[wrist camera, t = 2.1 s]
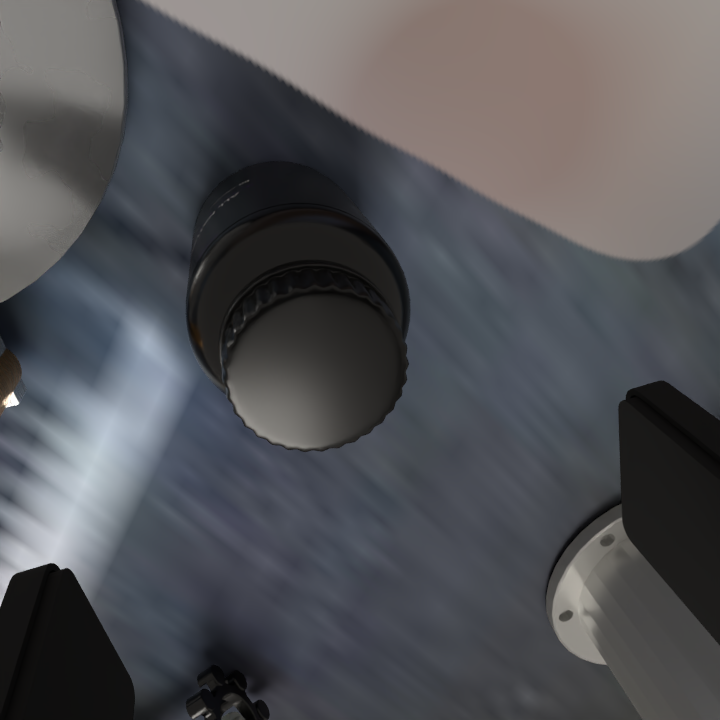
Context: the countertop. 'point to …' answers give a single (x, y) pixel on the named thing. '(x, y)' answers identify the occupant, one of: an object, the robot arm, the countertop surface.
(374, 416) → the supplement bottle
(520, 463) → the countertop surface
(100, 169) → the turntable
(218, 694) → the valve
